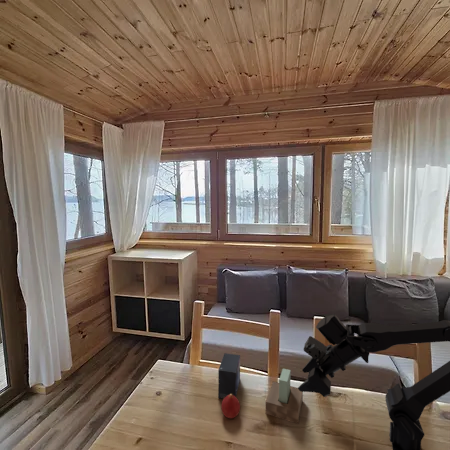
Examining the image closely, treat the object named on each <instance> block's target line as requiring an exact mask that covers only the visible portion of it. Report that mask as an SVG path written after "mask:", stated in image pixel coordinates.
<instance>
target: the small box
mask: <svg viewBox="0 0 450 450" xmlns="http://www.w3.org/2000/svg"><path fill="white" fill-rule="evenodd" d="M217 375H218V376H217V377H218V393H217V394H218V395H217V396H218V397H217V398H218V399H222V400H223V399H224V398H225V397H226V396H227V395H230V394H232V395H234V396H235V397H236V398H237V395H238V391H239V387H240V386H239V385H240V381H241V355H239V354H233V353H227V352H225V353H223V356H222V359H221V361H220V365H219V367H218V373H217Z"/></svg>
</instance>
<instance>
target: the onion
mask: <svg viewBox="0 0 450 450" xmlns="http://www.w3.org/2000/svg"><path fill="white" fill-rule="evenodd" d="M240 409H241V403H240V401H239V399H238V398H237V396H236V397H235V396H234V395H232V394H230V395H227V396H226V397H223V399H222V401H221V412H222V414H223V415H224V416H225V417H226V418H227V419H234V418H235V417H237V416H238V415H239V413H240Z"/></svg>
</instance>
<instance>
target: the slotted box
mask: <svg viewBox="0 0 450 450" xmlns="http://www.w3.org/2000/svg"><path fill="white" fill-rule="evenodd" d="M303 396H304V394H303V392H301V391H299V389H298V387H295V386H292V385H290V397H289V401H288V404H286V403H282V402H279V382H276V381H272V383H271V385H270V389H269V391H268V394H267V396H266V399H265V414H266V415H270V416H272V417H275V418H279V419H282V420H286V421H287V422H288V421H289V422H290V423H294V424H297V425H298V424H299V420H300V415H301V410H302V406H303Z"/></svg>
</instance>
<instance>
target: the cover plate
mask: <svg viewBox="0 0 450 450" xmlns="http://www.w3.org/2000/svg"><path fill="white" fill-rule="evenodd" d="M291 373H292V372H291V369H288V368H287V369H286V368H282V369H281V373H280V375H279V379H278V383H279V402H282V403H286V404H288V401H289V397H290V386H291V376H292V375H291Z"/></svg>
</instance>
